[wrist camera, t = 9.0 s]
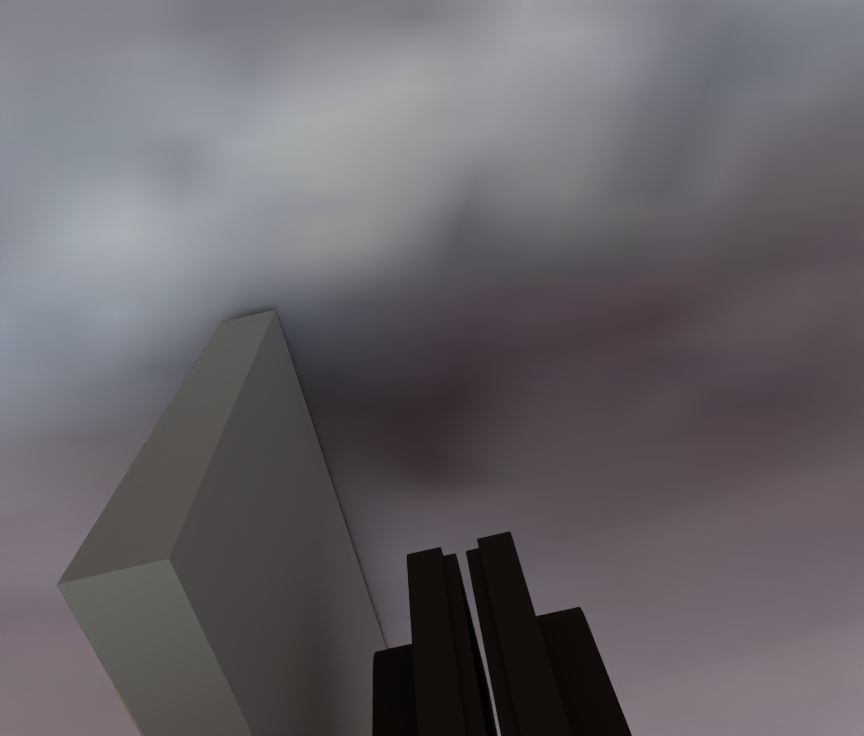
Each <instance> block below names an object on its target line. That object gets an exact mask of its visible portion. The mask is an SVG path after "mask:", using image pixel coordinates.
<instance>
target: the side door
mask: <svg viewBox="0 0 864 736" xmlns="http://www.w3.org/2000/svg"><path fill="white" fill-rule="evenodd" d="M57 586H58V588H59V589H60V591H61V593H62V595H63V596H64V598H65V600H66V602H67V603H68V605H69V607H70V609H71V610H72V612H73V614H74V616H75V617H76V619H77V621H78V623H79V624H80V626H81V628H82V630H83V631H84V633H85V635H86V637H87V638H88V640H89V642H90V644H91V645H92V647H93V649H94V651H95V652H96V654H97V656H98V658H99V659H100V661H101V663H102V665H103V666H104V668H105V670H106V672H107V673H108V675H109V677H110V679H111V680H112V682H113V684H114V689H115V691H116V693H117V694H118V696H119V698H120V700H121V701H122V703H123V705H124V707H125V708H126V710H127V712H128V714H129V715H130V717H131V719H132V721H133V722H134V724H135V726H136V728H137V729H138V731H139V733H140V734H141V736H372V699H373V656H374V653H375V652H377V651H381V650H386V646H385V643H384V640H383V636H382V633H381V630H380V627H379V624H378V621H377V618H376V615H375V612H374V609H373V606H372V603H371V600H370V597H369V594H368V591H367V588H366V585H365V582H364V579H363V576H362V572H361V569H360V566H359V563H358V560H357V557H356V554H355V551H354V548H353V545H352V542H351V539H350V536H349V533H348V530H347V527H346V524H345V521H344V518H343V515H342V512H341V508H340V505H339V502H338V499H337V496H336V493H335V490H334V487H333V484H332V481H331V478H330V475H329V472H328V469H327V466H326V463H325V460H324V457H323V454H322V451H321V448H320V444H319V441H318V438H317V435H316V432H315V429H314V426H313V423H312V420H311V417H310V414H309V411H308V408H307V405H306V402H305V399H304V396H303V393H302V390H301V387H300V384H299V381H298V377H297V374H296V371H295V368H294V365H293V362H292V359H291V356H290V353H289V350H288V347H287V344H286V341H285V338H284V335H283V332H282V329H281V326H280V323H279V320H278V317H277V313H276V310H275V309H274V310H270V311H266V312H261V313H257V314H253V315H248V316H244V317H240V318H236V319H231V320H227V321H223V322H222V323H221V324H220V326H219V327H218V329H217V331H216V332H215V334H214V335H213V337H212V339H211V340H210V342H209V343H208V345H207V346H206V348H205V350H204V351H203V353H202V354H201V356H200V358H199V359H198V361H197V362H196V364H195V366H194V367H193V369H192V370H191V372H190V374H189V375H188V377H187V378H186V380H185V381H184V383H183V385H182V386H181V388H180V389H179V391H178V393H177V394H176V396H175V397H174V399H173V401H172V402H171V404H170V405H169V407H168V408H167V410H166V412H165V413H164V415H163V416H162V418H161V420H160V421H159V423H158V424H157V426H156V428H155V429H154V431H153V432H152V434H151V436H150V437H149V439H148V440H147V442H146V443H145V445H144V447H143V448H142V450H141V451H140V453H139V455H138V456H137V458H136V459H135V461H134V463H133V464H132V466H131V467H130V469H129V470H128V472H127V474H126V475H125V477H124V478H123V480H122V482H121V483H120V485H119V486H118V488H117V490H116V491H115V493H114V494H113V496H112V498H111V499H110V501H109V502H108V504H107V505H106V507H105V509H104V510H103V512H102V513H101V515H100V517H99V518H98V520H97V521H96V523H95V525H94V526H93V528H92V529H91V531H90V533H89V534H88V536H87V537H86V539H85V540H84V542H83V544H82V545H81V547H80V548H79V550H78V552H77V553H76V555H75V556H74V558H73V560H72V561H71V563H70V564H69V566H68V567H67V569H66V571H65V572H64V574H63V575H62V577H61V579H60V580H59V582H58V583H57Z"/></svg>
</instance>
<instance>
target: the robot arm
mask: <svg viewBox="0 0 864 736" xmlns="http://www.w3.org/2000/svg"><path fill="white" fill-rule="evenodd" d="M477 541H478V546H479V548H477V549H473V550H468V551H466V555H467V560H468V565H469V571H470V576H471V581H472V586H473V591H474V597H475V602H476V607H477V612H478V617H479V623H480V628H481V633H482V638H483V643H484V649H485V654H486V659H487V664H488V669H489V675H490V680H491V685H492V690H493V695H494V701H495V706H496V711H497V716H498V721H499V727H500V732H501V736H632V735H631V732H630V730H629V727H628V725H627V722H626V719H625V717H624V714H623V712H622V709H621V707H620V704H619V702H618V699H617V697H616V694H615V692H614V689H613V686H612V684H611V681H610V679H609V676H608V674H607V671H606V669H605V666H604V664H603V661H602V658H601V656H600V653H599V651H598V648H597V646H596V643H595V641H594V638H593V636H592V633H591V631H590V628H589V625H588V623H587V620H586V618H585V616H584V613H583V611H582V610H581V608H580V607H576V608H572V609H567V610H563V611H558V612H554V613H549V614H545V615H540V616H536V615H535V612H534V608H533V605H532V602H531V598H530V595H529V592H528V588H527V585H526V582H525V578H524V575H523V572H522V568H521V565H520V562H519V558H518V555H517V552H516V548H515V545H514V542H513V538H512V535H511V533H510V532H506V533H501V534H497V535H492V536H488V537H483V538H479V539H477ZM407 570H408V586H409V602H410V617H411V633H412V644H409V645H404V646H399V647H395V648H390V649H386V650H381V651H377V652H375V653H374V656H373V699H372V736H497V730H496V725H495V719H494V714H493V709H492V703H491V698H490V693H489V688H488V683H487V679H486V675H485V670H484V666H483V662H482V658H481V654H480V650H479V646H478V642H477V638H476V634H475V630H474V625H473V621H472V617H471V613H470V609H469V605H468V601H467V597H466V593H465V589H464V585H463V581H462V576H461V572H460V568H459V564H458V560H457V556H456V553H455V554H450V555H446V556H443V553H442V550H441V547H438V548H434V549H429V550H425V551H420V552H416V553H411V554H407Z"/></svg>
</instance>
